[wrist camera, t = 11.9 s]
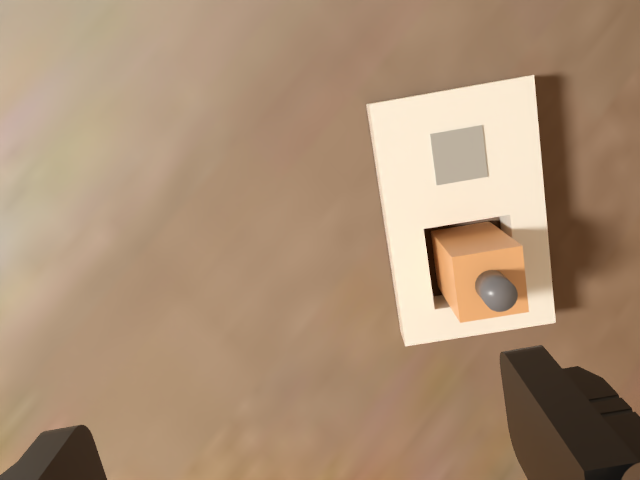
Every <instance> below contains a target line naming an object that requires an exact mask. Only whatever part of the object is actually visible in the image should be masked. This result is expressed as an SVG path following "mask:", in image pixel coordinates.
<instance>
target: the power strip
mask: <svg viewBox="0 0 640 480" xmlns="http://www.w3.org/2000/svg"><path fill="white" fill-rule="evenodd" d="M366 105H367V112H368V119H369V125H370V132H371V138H372V145H373V152H374V158H375V165H376V172H377V178H378V185H379V191H380V198H381V205H382V211H383V218H384V224H385V231H386V238H387V244H388V251H389V257H390V264H391V271H392V277H393V284H394V290H395V297H396V304H397V310H398V317H399V324H400V330H401V334H402V337H403V340H404V343H405V346H411V345H417V344H423V343H430V342H436V341H442V340H449V339H455V338H462V337H468V336H474V335H481V334H487V333H493V332H500V331H506V330H512V329H519V328H525V327H532V326H538V325H544V324H551V323H556V320H555V309H554V297H553V286H552V274H551V263H550V251H549V240H548V228H547V217H546V205H545V194H544V183H543V171H542V160H541V148H540V137H539V125H538V114H537V102H536V91H535V79H534V75H530V76H523V77H516V78H511V79H505V80H499V81H494V82H488V83H482V84H477V85H471V86H466V87H460V88H454V89H449V90H443V91H437V92H432V93H426V94H420V95H415V96H409V97H403V98H398V99H392V100H387V101H381V102H375V103H370V104H366ZM499 216H500V225H501V230H502V231H503V232H504V233H506V234H507V235H508V236H510V237H511V238H513V239H514V240H515V241H517V242H518V243H520V244H521V245H522V246H523V256H524V266H525V276H526V286H527V296H528V306H529V312H526V313H520V314H513V315H507V316H501V317H494V318H488V319H482V320H475V321H469V322H463V323H460V322H459V320H458V319H457V317H456V315H455V314H454V312H453V311H452V309H451V307H450V306H449V304H448V302H447V301H446V299H445V297H444V296H443V295H439V296H433V294H432V286H431V279H430V271H429V264H428V257H427V249H426V242H425V235H424V229H427V228H433V227H439V226H445V225H451V224H457V223H463V222H469V221H475V220H481V219H487V218H493V217H499Z"/></svg>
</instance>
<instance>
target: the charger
mask: <svg viewBox="0 0 640 480" xmlns="http://www.w3.org/2000/svg"><path fill="white" fill-rule="evenodd" d="M430 232H431V240H432V247H433V255H434V262H435V270H436V277H437V285H438V288H439V289H440V291H441V293H442V294H443V296H444V297H445V299H446V301H447V302H448V304H449V306H450V307H451V309H452V311H453V312H454V314H455V315H456V317H457V319H458V320H459V322H460V323H463V322H469V321H475V320H482V319H488V318H494V317H501V316H507V315H513V314H520V313H526V312H529V306H528V296H527V286H526V276H525V266H524V256H523V246H522V245H521V244H520V243H518V242H517V241H515V240H514V239H513V238H511V237H510V236H508V235H507V234H506V233H504V232H503V231H502V230H500V229H499V228H497V227H496V226H495V225H493V224H492V223H491V222H489V221H488V222H482V223H476V224H470V225H464V226H458V227H452V228H446V229H440V230H434V231H430Z"/></svg>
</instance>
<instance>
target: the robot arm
mask: <svg viewBox="0 0 640 480" xmlns="http://www.w3.org/2000/svg"><path fill="white" fill-rule="evenodd" d="M500 368H501V376H502V383H503V391H504V398H505V406H506V413H507V421H508V428H509V433H510V438H511V441H512V445H513V448H514V451H515V454H516V457H517V459H518V461H519V463H520V465H521V467H522V469H523V471H524V473H525V475H526V477H527V479H528V480H640V417H639V416H638V414H637V413H636V412H632V408H631V407H630V406H629V405H628V404H627V403H626V402H625V401H624V400H623V399H622V398H619V395H618V394H617V393H616V391H615V390H614V389H613V388H612V387H611V386H610V385H609V384H608V383H607V382H606V381H605V380H604V379H603V378H602V377H599V376H597V375H595V374H593V373H591V372H589V371H587V370H585V369H583V368H581V367H578V366H576V367H570V368H565V369H562V368H561V367H560V366H559V365H558V363H557V362H556V361H555V360H554V359H553V357H552V356H551V355H550V354H549V353H548V351H547V350H546V349H545V348H544V347H543V346H542V345H538V346H533V347H527V348H521V349H516V350H510V351H504V352H501V353H500ZM0 480H107V478H106V475H105V472H104V469H103V466H102V463H101V460H100V457H99V454H98V451H97V448H96V445H95V442H94V439H93V436H92V434H91V432H90V430H89V429H88V428H87V427H86V426H84V425H78V426H72V427H66V428H61V429H55V430H49V431H44V432H42V433H41V434H40V435H39V436H38V437H37V439H36V440H35V441H34V442H33V443H32V445H31V446H30V447H29V448H28V450H27V451H26V452H25V453H24V454H23V456H22V457H21V458H20V459H19V461H18V462H17V463H15V464H14V465H13V466H12V467H10V468H9V469H8V470H6V471H5V472H4V473H3V474H1V475H0Z"/></svg>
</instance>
